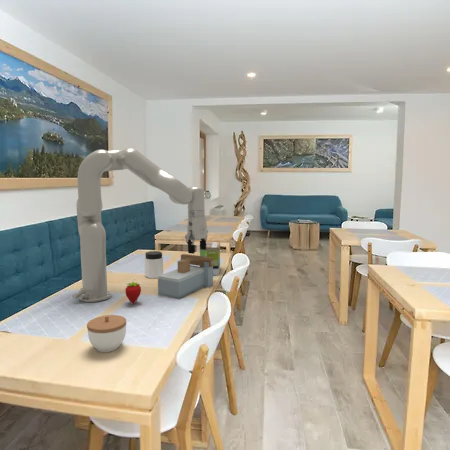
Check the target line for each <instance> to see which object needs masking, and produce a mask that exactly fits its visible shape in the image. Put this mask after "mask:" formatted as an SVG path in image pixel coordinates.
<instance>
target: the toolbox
mask: <svg viewBox="0 0 450 450" xmlns="http://www.w3.org/2000/svg"><path fill="white" fill-rule="evenodd" d="M180 260H183V259H181V258H180V259H179V261H180ZM212 286H214V275H213V266H212V267H209V262H204V272H202V273H200V274H197V275H195V276H193V277H190V278H188V279H185V280H183V281H181V282H174V281H168V280H162V279H158V278H157V294H158V296H160V297H161V296H162V297H168V298H173V299H177V300H181V299H182V298H185V297H187V296H189V295H191V294H193V293H195V292H197V291H199V290H201V289H203V288H210V287H212Z"/></svg>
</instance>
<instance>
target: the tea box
mask: <svg viewBox="0 0 450 450" xmlns="http://www.w3.org/2000/svg"><path fill="white" fill-rule="evenodd" d="M199 256H204V257H212V258H213V276H219V274H220V268H221V242H214V241H213V242H211V241H210V242H207V241H206V249H200V248H199ZM199 267H204V266H199Z"/></svg>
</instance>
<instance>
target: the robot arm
mask: <svg viewBox="0 0 450 450" xmlns="http://www.w3.org/2000/svg"><path fill="white" fill-rule="evenodd" d="M78 167H79V168H78V171H77V195H78V196H77V201H76V204H75V206H76V216H77V217H76V218H77V230H78V231H77V232H78V235H79V239H80V240H79V242H80V244H79V245H80V248H79V249H80V262H81V263H80V266H81V284H82V287H81V288H80V291H79V292H75V293H73V294H72V298H73V299H74V300H75V299H78V300H79V301H80V302H85V303H95V302H102V301H106V300H108V299H110V298H111V297H112V292H111V291H110V290H108V278H107V277H108V276H107V275H108V274H107V273H108V272H107V255H106V254H107V250H106V248H107V234H106V233H107V232H106V230H105V227H104V225H103V224H102V210H103V200H102V190H101V185H102V184H101V183H102V182H101V181H102V175H103V174H104V172H112V171H113V172H115V171H123V170H129V171H130V172H131V173H133V174H134V175H135V176H136V177H138V178H139V179H140V180H142V181H144V182H145V183H146V184H148V185H150V186H151V187H153V188H156V189H159V190H160V191H162V192H163V193H165V194H167V195H168V198H169V200H170V201H171V202H172V203H174V204H177V205H183V206H185V205H187V218H188V219H187V228H186V229H187V231H186V232H187V233H186V234H185V236H184V239H185V243H186V245H187V251H188V252H187V253H188V254H191V255H195V253H196V252H195V250H196V248H195V246H196V245H195V242H196V241H199V250H200V249H206V242H207V240H208V234H209V230H208V227H207V226H208V225H207V220H206V215H205V214H206V213H205V207H206V206H205V190H204V187H203V186H189V187H188V186H187V185H186V184H184V183H183V182H181V181H180V180H179V179H177V178H176V177H175V176H173V175H172V174H170V173H168V172H167V171H166V170H164V169H163V168H161V167H159V166H158V165H157V164H155V163H154V162H153V161H152V160H151V159H149V158H148V157H146V156H145V155H144V154H142V153H141V152H140V151H138V149H136V148H133V147H127V148H124V149H117V150H116V149H115V150H107V149H102V148H101V149H96V150H94V151H93V152H91V153H89V154H87V156H85V157H84V158H83V160H82V161H81V163H80V164H79V166H78Z"/></svg>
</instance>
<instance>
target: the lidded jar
mask: <svg viewBox="0 0 450 450" xmlns="http://www.w3.org/2000/svg"><path fill="white" fill-rule="evenodd" d="M86 328H87V329H86V330H87V335H88V336H87V337H88V340H89V342H90V344H91V346H92V347H94V349H96V350H97V352H100V353H110V352H114V351H115V350H117V349H118V348H119V347H120V345H122V343H123V342H124V340H125V337H126V331H127V319H126V317H124V316H122V315H118V314H105V315H101V316H97V317H94V318H91V320H89V321H88V322H87V323H86Z"/></svg>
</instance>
